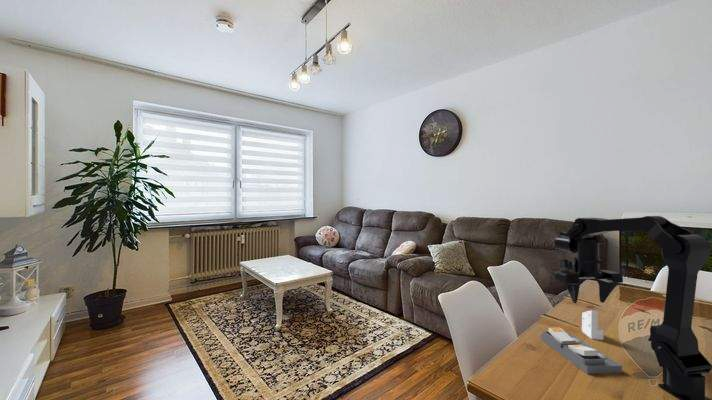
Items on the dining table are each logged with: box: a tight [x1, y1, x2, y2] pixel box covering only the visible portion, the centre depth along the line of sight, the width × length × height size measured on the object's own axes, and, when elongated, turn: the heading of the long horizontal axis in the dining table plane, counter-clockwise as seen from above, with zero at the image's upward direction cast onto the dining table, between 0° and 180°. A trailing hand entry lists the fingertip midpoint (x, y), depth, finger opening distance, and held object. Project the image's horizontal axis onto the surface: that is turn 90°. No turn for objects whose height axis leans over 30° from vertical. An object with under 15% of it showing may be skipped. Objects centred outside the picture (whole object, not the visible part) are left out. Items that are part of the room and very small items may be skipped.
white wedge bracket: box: [581, 309, 605, 341], centre depth 102 cm, size 4×10×9 cm, turn 168°
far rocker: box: [547, 327, 574, 343], centre depth 94 cm, size 6×4×2 cm, turn 2°
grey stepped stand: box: [540, 330, 623, 375], centre depth 90 cm, size 19×10×3 cm, turn 2°
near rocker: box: [568, 345, 598, 356], centre depth 86 cm, size 6×4×2 cm, turn 2°
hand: (588, 302), depth 96 cm, fingers open, 9 cm apart
